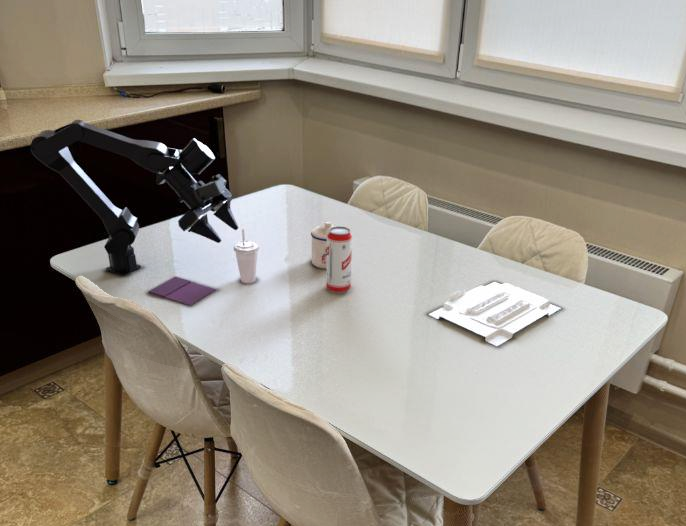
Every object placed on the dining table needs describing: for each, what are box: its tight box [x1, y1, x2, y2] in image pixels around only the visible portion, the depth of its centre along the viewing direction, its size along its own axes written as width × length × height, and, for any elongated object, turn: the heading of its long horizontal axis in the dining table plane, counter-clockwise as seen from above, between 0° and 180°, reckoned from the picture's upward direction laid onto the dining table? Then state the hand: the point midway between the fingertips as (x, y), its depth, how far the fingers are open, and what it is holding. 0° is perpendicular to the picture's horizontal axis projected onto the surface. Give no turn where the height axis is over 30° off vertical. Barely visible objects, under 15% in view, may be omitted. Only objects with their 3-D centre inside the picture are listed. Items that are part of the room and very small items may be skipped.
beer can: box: [325, 225, 353, 294], centre depth 174 cm, size 6×6×16 cm
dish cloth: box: [148, 276, 217, 306], centre depth 173 cm, size 13×10×1 cm
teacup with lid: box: [310, 221, 336, 270], centre depth 189 cm, size 12×9×12 cm
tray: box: [428, 281, 562, 347], centre depth 170 cm, size 20×28×4 cm
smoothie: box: [233, 228, 260, 284], centre depth 177 cm, size 6×6×14 cm
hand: (228, 235), depth 175 cm, fingers open, 9 cm apart
